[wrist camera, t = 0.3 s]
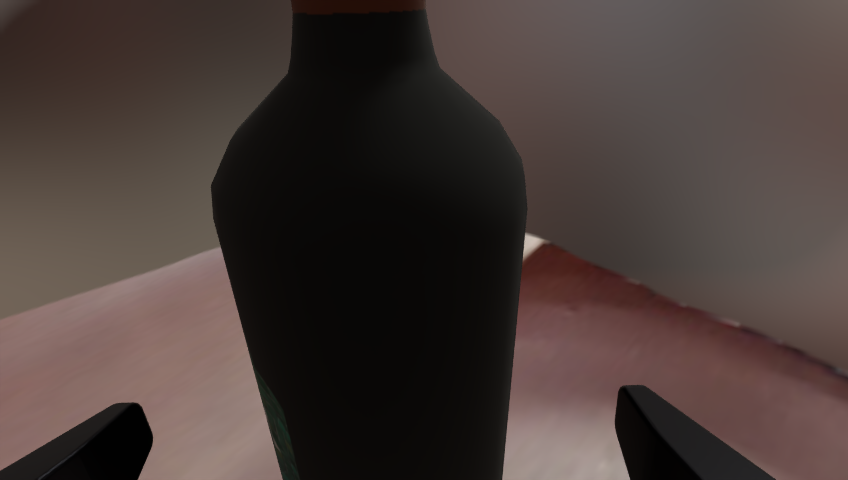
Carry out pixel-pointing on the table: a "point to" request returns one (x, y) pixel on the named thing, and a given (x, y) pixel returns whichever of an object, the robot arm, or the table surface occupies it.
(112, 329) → the table surface
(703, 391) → the table surface
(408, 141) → the wine bottle
